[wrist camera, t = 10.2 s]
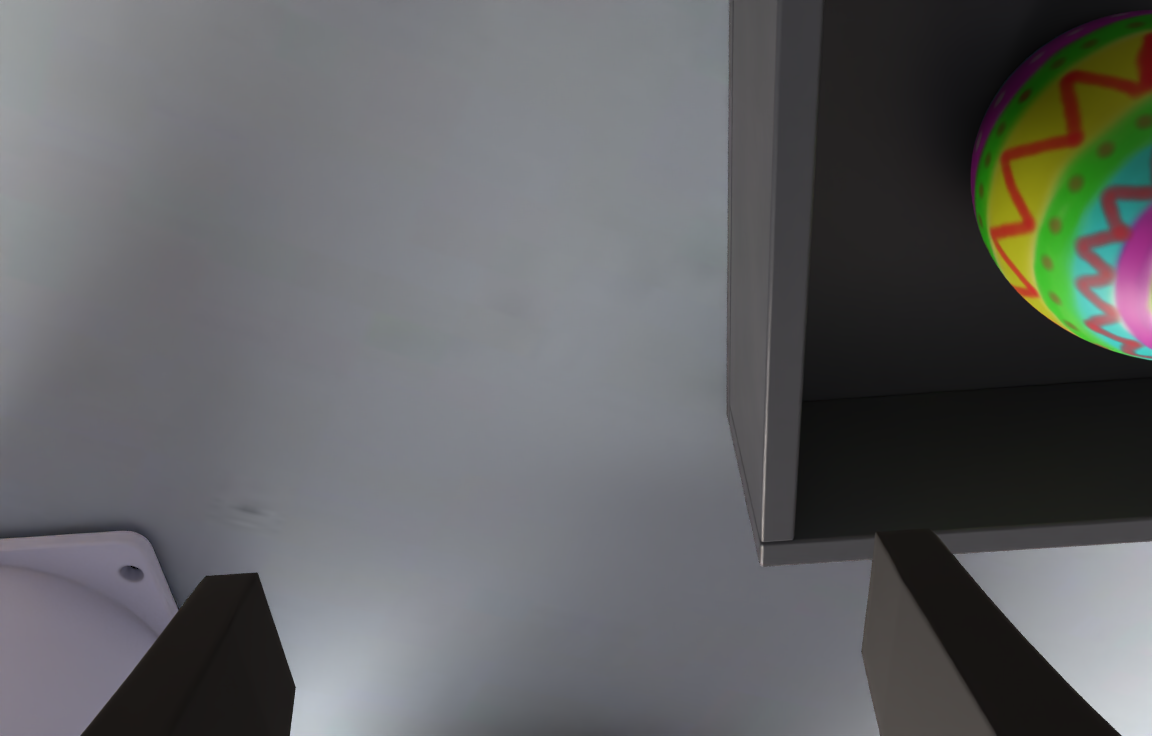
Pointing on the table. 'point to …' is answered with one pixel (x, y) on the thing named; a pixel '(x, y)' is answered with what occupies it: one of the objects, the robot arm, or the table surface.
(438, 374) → the table surface
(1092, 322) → the egg
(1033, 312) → the bin
